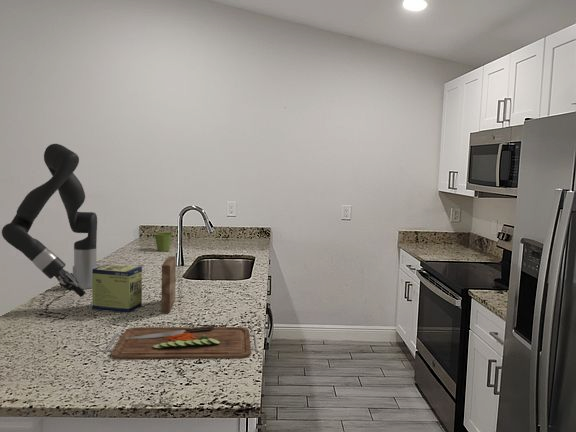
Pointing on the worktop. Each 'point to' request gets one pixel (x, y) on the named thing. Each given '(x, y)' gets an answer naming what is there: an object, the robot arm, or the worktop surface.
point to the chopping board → (183, 343)
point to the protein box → (117, 288)
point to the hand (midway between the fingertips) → (83, 294)
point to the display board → (168, 284)
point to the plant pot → (163, 241)
